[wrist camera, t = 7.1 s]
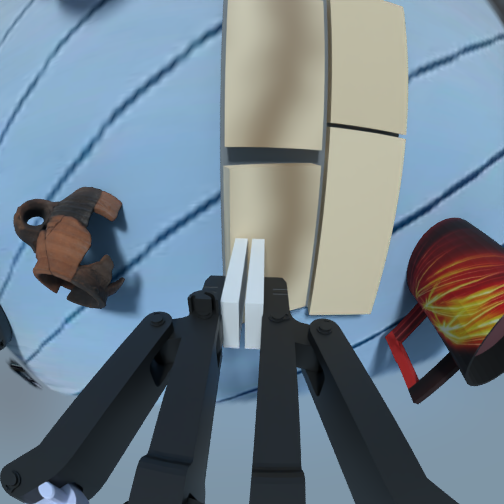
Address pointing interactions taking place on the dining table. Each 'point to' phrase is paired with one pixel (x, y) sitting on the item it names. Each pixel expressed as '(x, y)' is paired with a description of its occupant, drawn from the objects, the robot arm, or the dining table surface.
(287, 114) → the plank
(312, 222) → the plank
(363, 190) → the floor panel
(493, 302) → the mug
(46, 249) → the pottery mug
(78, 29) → the dining table surface
